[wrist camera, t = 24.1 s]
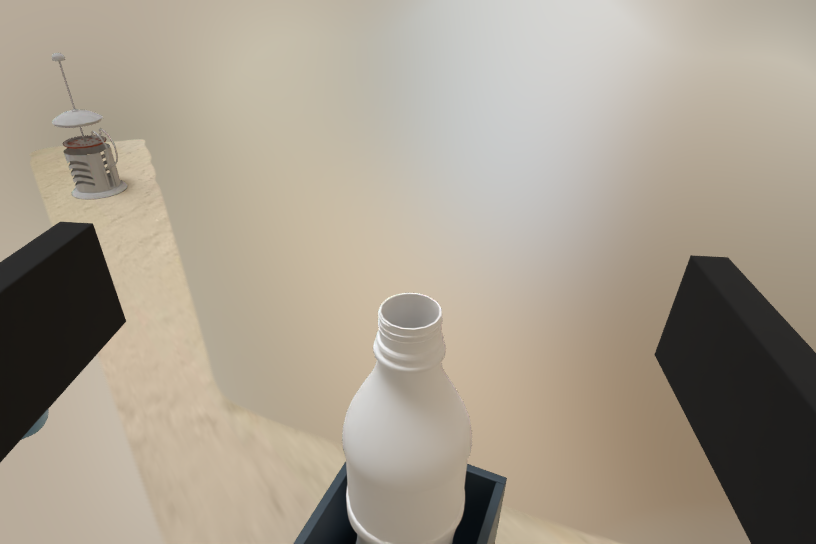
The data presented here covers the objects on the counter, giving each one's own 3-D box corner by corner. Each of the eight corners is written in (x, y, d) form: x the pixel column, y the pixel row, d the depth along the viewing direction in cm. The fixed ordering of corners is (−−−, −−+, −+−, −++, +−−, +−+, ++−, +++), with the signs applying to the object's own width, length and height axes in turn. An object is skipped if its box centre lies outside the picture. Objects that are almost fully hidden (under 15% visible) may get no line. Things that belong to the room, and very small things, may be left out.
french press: (103, 177, 106) (63, 47, 93) (145, 186, 102) (109, 52, 89) (59, 193, 98) (8, 54, 85) (103, 204, 94) (57, 60, 81)
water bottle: (396, 524, 41) (399, 256, 28) (471, 582, 37) (515, 304, 24) (332, 598, 36) (300, 316, 23) (411, 673, 33) (426, 387, 19)
